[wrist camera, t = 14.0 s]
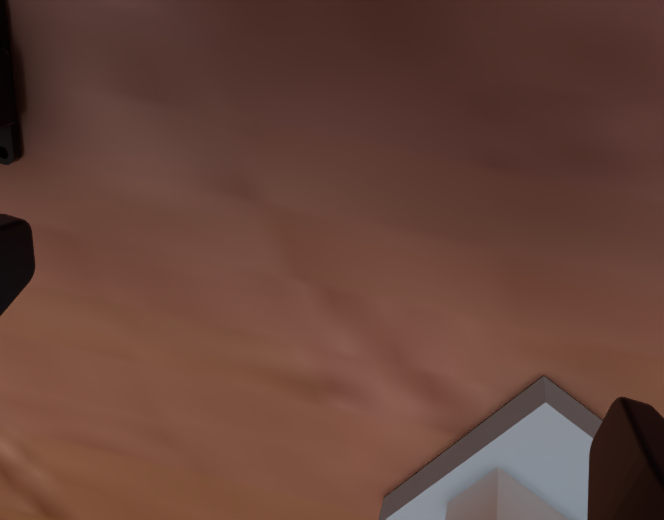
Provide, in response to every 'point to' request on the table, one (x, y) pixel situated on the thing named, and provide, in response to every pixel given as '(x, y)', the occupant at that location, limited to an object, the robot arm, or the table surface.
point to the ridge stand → (508, 465)
